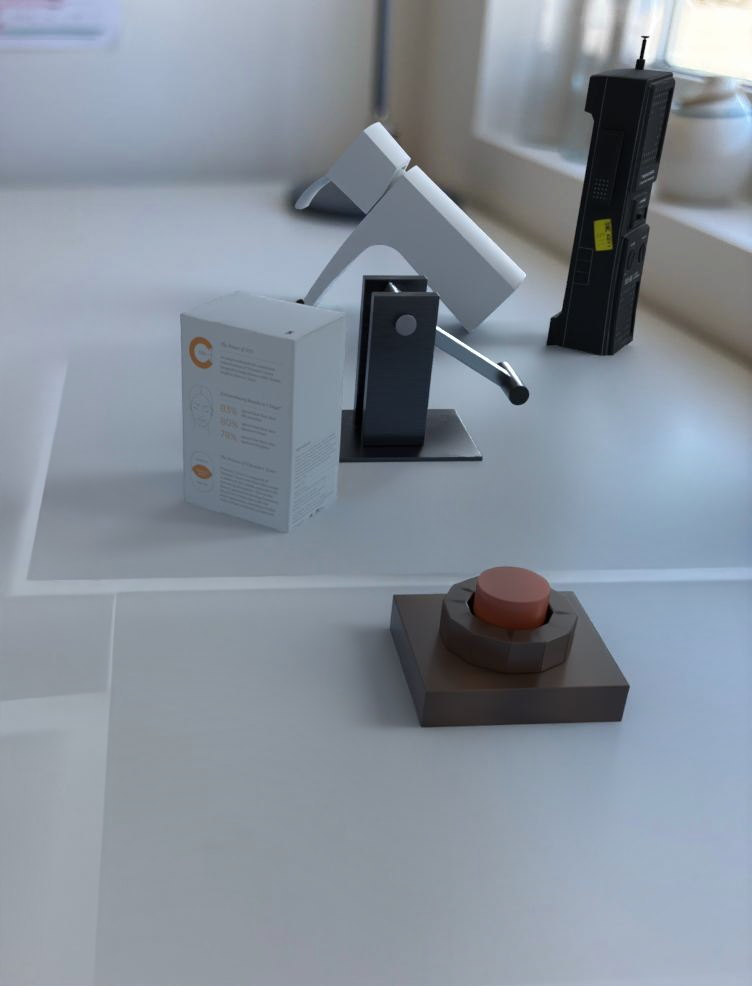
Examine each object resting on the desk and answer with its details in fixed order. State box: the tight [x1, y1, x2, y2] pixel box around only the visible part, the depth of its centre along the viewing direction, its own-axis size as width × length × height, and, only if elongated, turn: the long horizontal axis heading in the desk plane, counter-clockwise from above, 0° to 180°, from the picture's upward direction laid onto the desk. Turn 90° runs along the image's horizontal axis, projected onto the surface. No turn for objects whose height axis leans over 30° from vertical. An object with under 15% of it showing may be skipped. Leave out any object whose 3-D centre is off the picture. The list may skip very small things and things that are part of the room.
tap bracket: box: [339, 274, 484, 464], centre depth 80 cm, size 12×9×12 cm
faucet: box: [294, 121, 527, 334], centre depth 107 cm, size 6×16×20 cm
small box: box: [179, 290, 348, 534], centre depth 70 cm, size 8×6×13 cm
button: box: [473, 565, 552, 630], centre depth 56 cm, size 4×4×2 cm
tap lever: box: [370, 282, 530, 406], centre depth 79 cm, size 12×5×2 cm
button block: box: [389, 575, 631, 728], centre depth 58 cm, size 10×9×4 cm
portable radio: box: [546, 35, 676, 357], centre depth 95 cm, size 8×6×25 cm
